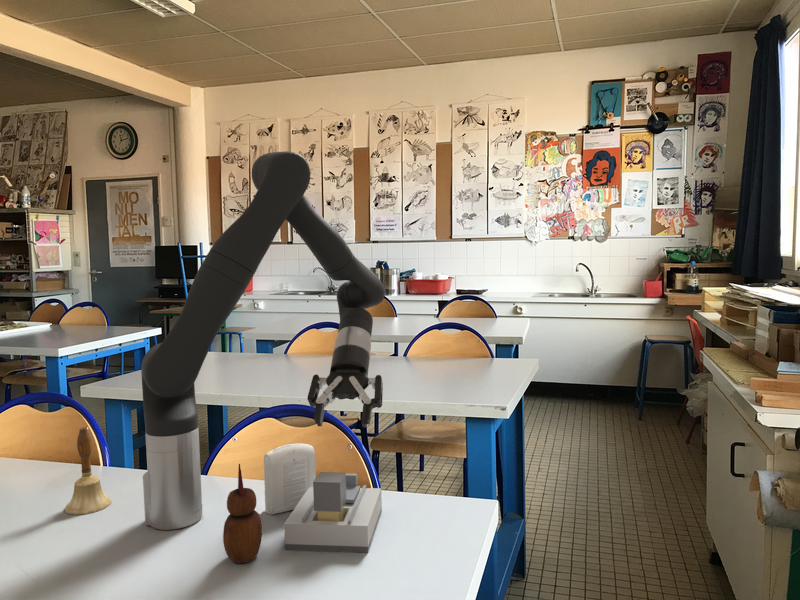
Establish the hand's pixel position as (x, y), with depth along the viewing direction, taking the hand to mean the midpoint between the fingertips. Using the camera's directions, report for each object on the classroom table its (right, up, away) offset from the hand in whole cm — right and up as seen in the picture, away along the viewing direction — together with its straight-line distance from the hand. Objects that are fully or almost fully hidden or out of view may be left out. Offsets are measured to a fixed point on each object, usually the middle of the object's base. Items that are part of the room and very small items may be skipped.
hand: (341, 424), depth 112 cm
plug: (-1, -17, -9) cm, 19 cm away
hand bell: (-51, -18, +8) cm, 55 cm away
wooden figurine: (-14, -19, -14) cm, 28 cm away
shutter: (0, -13, -1) cm, 13 cm away
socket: (0, -18, -5) cm, 18 cm away
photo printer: (-10, -17, +5) cm, 21 cm away
